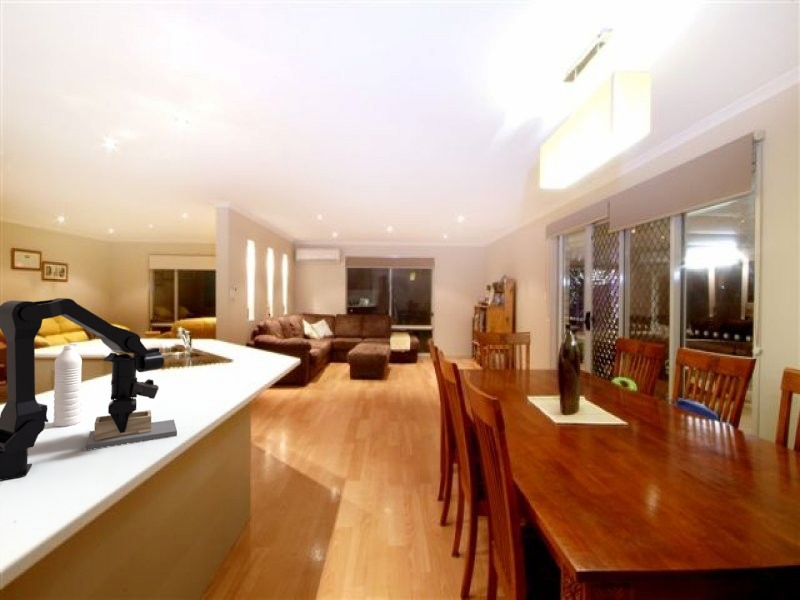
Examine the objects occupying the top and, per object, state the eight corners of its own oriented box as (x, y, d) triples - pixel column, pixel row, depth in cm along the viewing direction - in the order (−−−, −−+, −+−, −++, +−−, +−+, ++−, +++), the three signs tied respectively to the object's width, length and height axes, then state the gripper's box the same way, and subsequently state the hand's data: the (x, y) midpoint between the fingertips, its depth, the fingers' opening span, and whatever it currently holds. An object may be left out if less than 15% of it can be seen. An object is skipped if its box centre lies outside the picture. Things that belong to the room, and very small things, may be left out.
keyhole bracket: (151, 431, 112) (151, 415, 112) (94, 440, 105) (94, 423, 104) (150, 424, 117) (150, 410, 117) (96, 432, 110) (96, 417, 110)
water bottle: (75, 425, 119) (76, 345, 119) (49, 427, 117) (50, 346, 117) (87, 417, 128) (88, 342, 127) (62, 419, 125) (64, 342, 125)
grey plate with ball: (176, 435, 113) (177, 423, 113) (85, 450, 101) (85, 436, 101) (173, 424, 123) (173, 412, 123) (90, 436, 111) (90, 423, 111)
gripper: (158, 378, 107) (157, 434, 108) (155, 367, 123) (154, 415, 123) (108, 382, 101) (107, 441, 101) (112, 370, 117) (111, 421, 117)
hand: (122, 429), depth 111 cm, fingers closed on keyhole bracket, 6 cm apart
